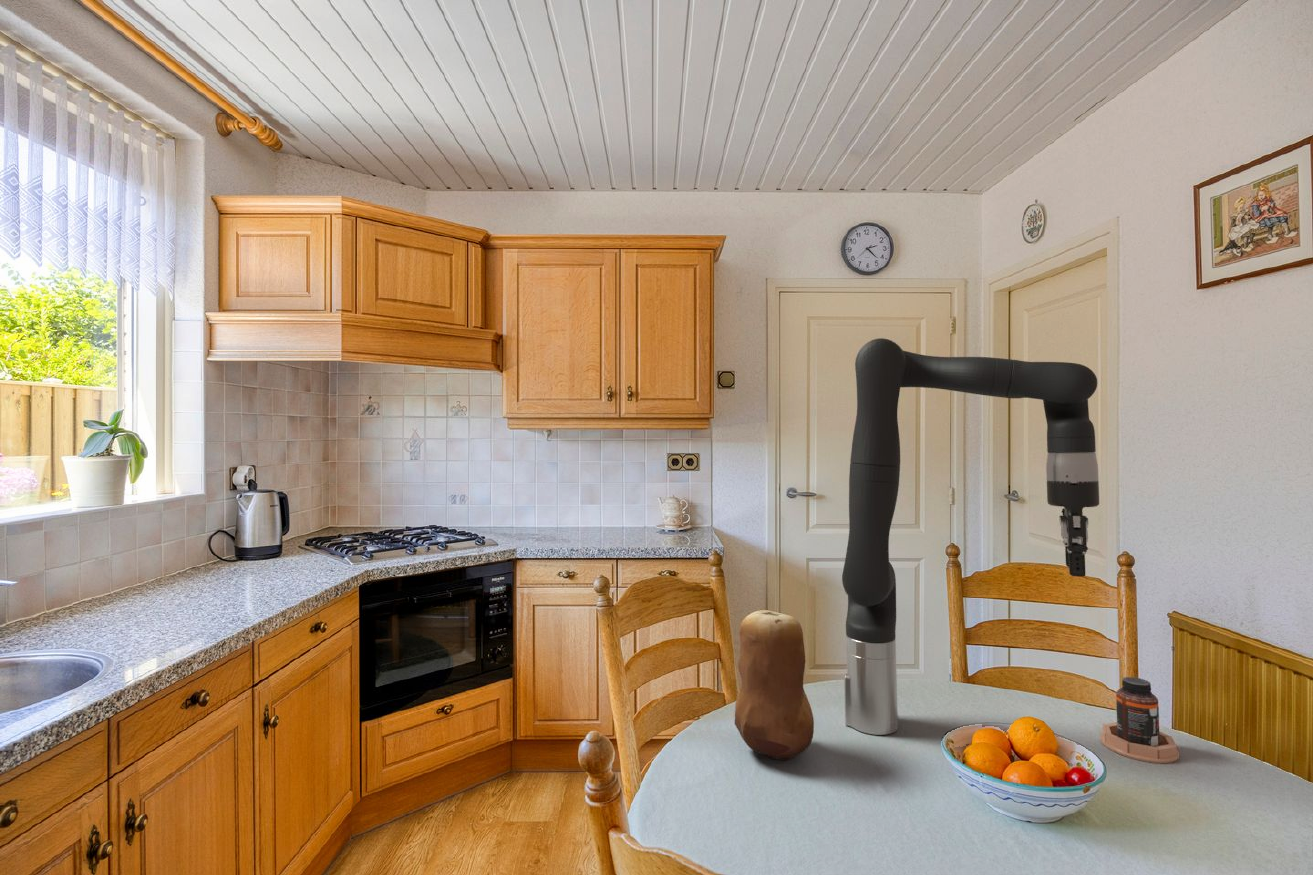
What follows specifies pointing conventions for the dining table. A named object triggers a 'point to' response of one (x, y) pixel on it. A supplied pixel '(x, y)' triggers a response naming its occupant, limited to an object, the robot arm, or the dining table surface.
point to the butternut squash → (773, 686)
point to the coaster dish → (1140, 746)
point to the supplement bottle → (1137, 712)
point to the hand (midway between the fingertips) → (1075, 571)
